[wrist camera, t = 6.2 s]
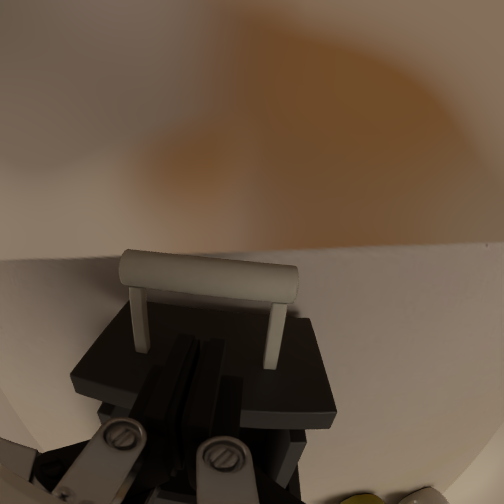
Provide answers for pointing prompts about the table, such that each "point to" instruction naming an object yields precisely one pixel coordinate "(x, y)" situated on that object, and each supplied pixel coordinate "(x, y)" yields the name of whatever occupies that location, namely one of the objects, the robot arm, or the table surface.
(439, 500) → the mug
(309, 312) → the table surface
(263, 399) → the drawer
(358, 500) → the apple
